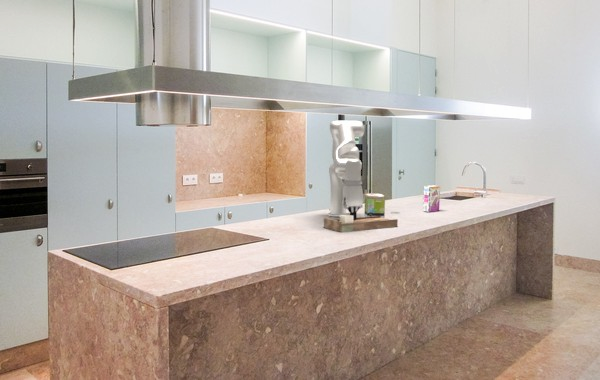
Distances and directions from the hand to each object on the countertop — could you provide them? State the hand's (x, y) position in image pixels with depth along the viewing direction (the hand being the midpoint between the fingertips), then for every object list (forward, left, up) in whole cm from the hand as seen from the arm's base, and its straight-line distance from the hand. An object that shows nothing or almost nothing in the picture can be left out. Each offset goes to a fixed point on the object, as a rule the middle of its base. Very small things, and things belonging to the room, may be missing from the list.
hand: (353, 219), depth 261 cm
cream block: (+1, -5, -2) cm, 5 cm away
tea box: (-20, +28, -5) cm, 35 cm away
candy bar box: (-34, +82, -5) cm, 89 cm away
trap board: (-3, +7, -5) cm, 9 cm away
